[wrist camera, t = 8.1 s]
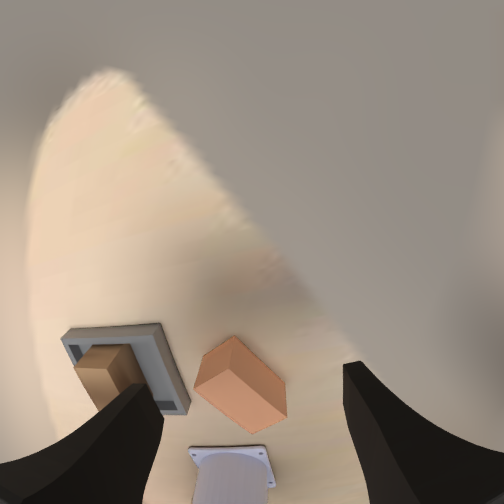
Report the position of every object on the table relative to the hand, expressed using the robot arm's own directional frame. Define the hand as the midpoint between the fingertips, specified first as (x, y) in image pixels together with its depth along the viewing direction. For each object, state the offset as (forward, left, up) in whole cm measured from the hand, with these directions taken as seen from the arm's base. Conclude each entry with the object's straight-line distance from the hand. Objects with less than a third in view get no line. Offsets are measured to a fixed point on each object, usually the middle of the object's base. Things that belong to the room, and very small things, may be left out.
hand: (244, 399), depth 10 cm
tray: (-6, +12, -10) cm, 17 cm away
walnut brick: (-6, +12, -10) cm, 17 cm away
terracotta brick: (-7, +2, -11) cm, 13 cm away
